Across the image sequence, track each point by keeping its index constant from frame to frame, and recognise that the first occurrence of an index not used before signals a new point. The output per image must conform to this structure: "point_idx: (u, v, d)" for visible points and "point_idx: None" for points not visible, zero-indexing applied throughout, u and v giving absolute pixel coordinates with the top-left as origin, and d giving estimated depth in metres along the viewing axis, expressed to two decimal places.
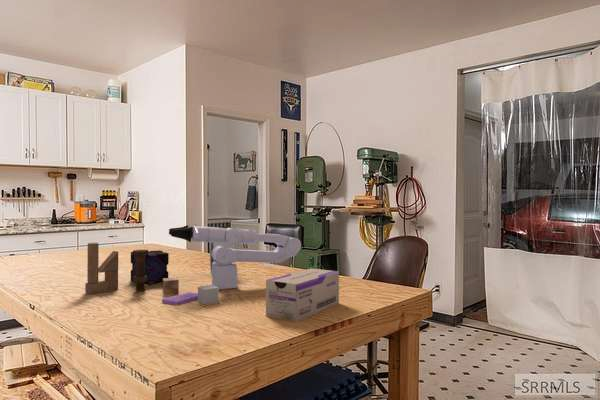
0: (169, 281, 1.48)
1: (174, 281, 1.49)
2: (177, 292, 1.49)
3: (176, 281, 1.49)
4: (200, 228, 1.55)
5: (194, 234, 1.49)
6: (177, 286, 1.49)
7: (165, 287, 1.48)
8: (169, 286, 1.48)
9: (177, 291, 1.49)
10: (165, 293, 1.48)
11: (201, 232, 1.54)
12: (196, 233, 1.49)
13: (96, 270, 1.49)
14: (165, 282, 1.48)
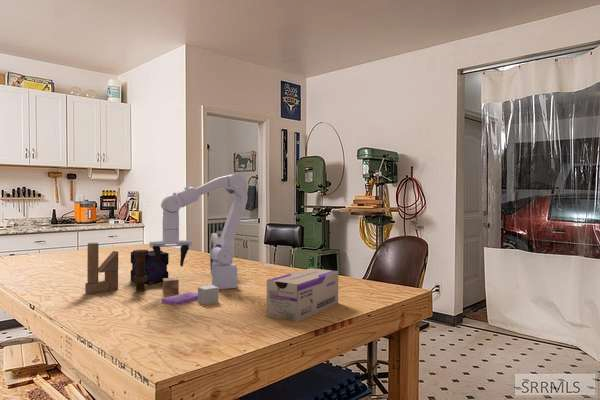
0: (169, 281, 1.48)
1: (174, 281, 1.49)
2: (177, 292, 1.49)
3: (176, 281, 1.49)
4: (176, 237, 1.49)
5: None
6: (177, 286, 1.49)
7: (165, 287, 1.48)
8: (169, 286, 1.48)
9: (177, 291, 1.49)
10: (165, 293, 1.48)
11: (178, 236, 1.51)
12: None
13: (96, 270, 1.49)
14: (165, 282, 1.48)
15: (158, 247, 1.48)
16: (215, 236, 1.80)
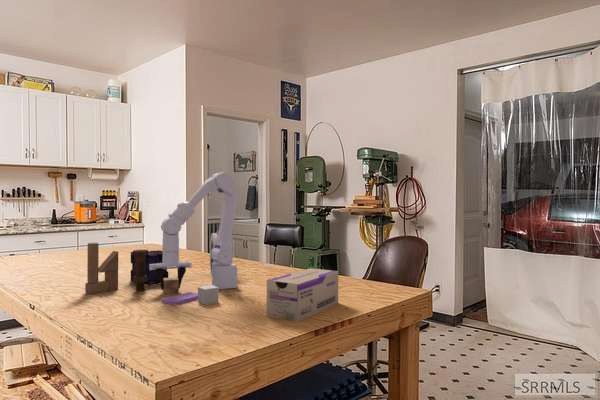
0: (169, 281, 1.48)
1: (174, 281, 1.49)
2: (177, 292, 1.49)
3: (176, 281, 1.49)
4: (176, 260, 1.49)
5: None
6: (177, 286, 1.49)
7: (165, 287, 1.48)
8: (169, 286, 1.48)
9: (177, 291, 1.49)
10: (165, 293, 1.48)
11: (178, 258, 1.51)
12: None
13: (96, 270, 1.49)
14: (165, 282, 1.48)
15: (158, 269, 1.48)
16: (215, 236, 1.80)
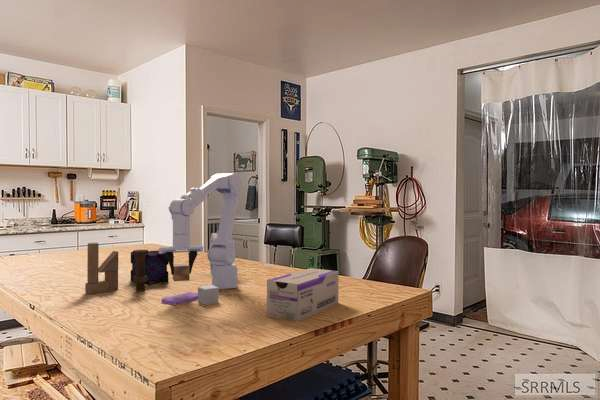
0: (179, 267, 1.40)
1: (185, 267, 1.40)
2: (188, 279, 1.41)
3: (187, 267, 1.41)
4: (187, 243, 1.40)
5: (202, 250, 1.44)
6: (188, 272, 1.41)
7: (175, 273, 1.39)
8: (179, 272, 1.40)
9: (188, 277, 1.41)
10: (175, 279, 1.39)
11: (189, 241, 1.42)
12: None
13: (96, 270, 1.49)
14: (175, 268, 1.39)
15: (168, 253, 1.39)
16: (215, 236, 1.80)
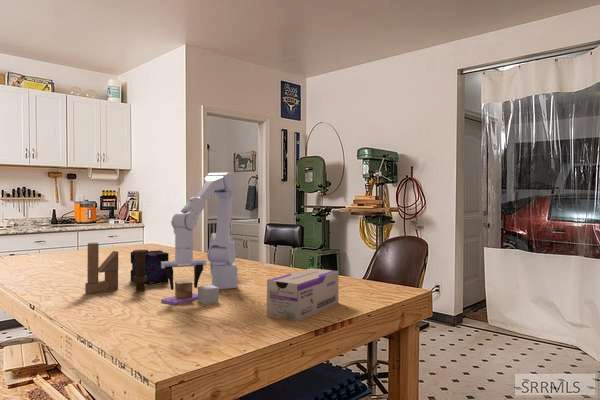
0: (182, 284, 1.38)
1: (188, 284, 1.38)
2: (191, 296, 1.39)
3: (190, 284, 1.39)
4: (190, 257, 1.39)
5: (205, 264, 1.43)
6: (191, 289, 1.39)
7: (178, 290, 1.37)
8: (182, 289, 1.38)
9: (191, 294, 1.39)
10: (178, 297, 1.37)
11: (192, 255, 1.40)
12: None
13: (96, 270, 1.49)
14: (178, 285, 1.37)
15: (170, 268, 1.37)
16: (215, 236, 1.80)
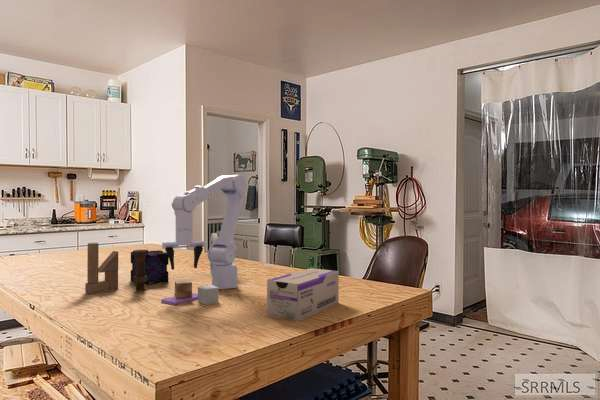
0: (182, 284, 1.38)
1: (187, 284, 1.38)
2: (190, 296, 1.39)
3: (189, 284, 1.39)
4: (190, 238, 1.43)
5: None
6: (190, 289, 1.39)
7: (178, 290, 1.37)
8: (182, 289, 1.38)
9: (190, 294, 1.39)
10: (178, 297, 1.37)
11: (192, 237, 1.45)
12: None
13: (96, 270, 1.49)
14: (178, 285, 1.37)
15: (171, 248, 1.42)
16: (215, 236, 1.80)
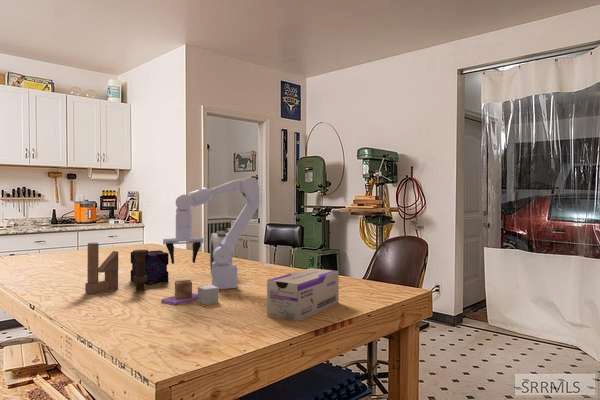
0: (182, 284, 1.38)
1: (187, 284, 1.38)
2: (190, 296, 1.39)
3: (189, 284, 1.39)
4: (189, 235, 1.55)
5: None
6: (190, 289, 1.39)
7: (178, 290, 1.37)
8: (182, 289, 1.38)
9: (190, 295, 1.39)
10: (178, 297, 1.37)
11: None
12: None
13: (96, 270, 1.49)
14: (178, 285, 1.37)
15: (171, 244, 1.54)
16: (215, 236, 1.80)
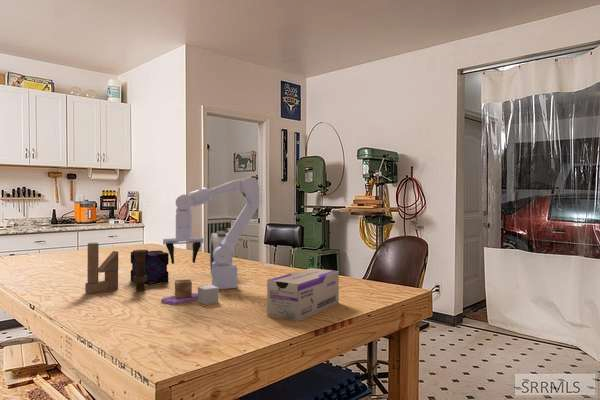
0: (182, 284, 1.38)
1: (187, 284, 1.38)
2: (190, 295, 1.39)
3: (189, 284, 1.38)
4: (189, 235, 1.55)
5: None
6: (190, 289, 1.39)
7: (177, 290, 1.37)
8: (182, 289, 1.37)
9: (190, 294, 1.39)
10: (177, 296, 1.37)
11: None
12: None
13: (96, 270, 1.49)
14: (177, 285, 1.37)
15: (171, 244, 1.54)
16: (215, 236, 1.80)
